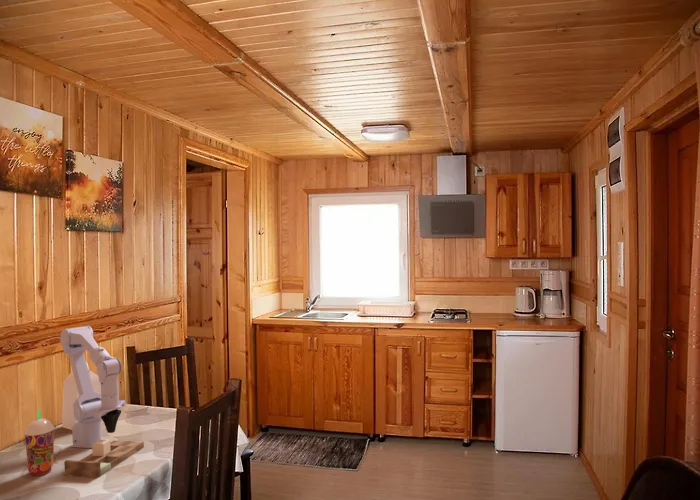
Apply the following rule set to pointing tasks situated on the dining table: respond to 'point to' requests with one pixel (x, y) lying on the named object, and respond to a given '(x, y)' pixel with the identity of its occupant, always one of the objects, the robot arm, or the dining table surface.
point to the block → (101, 447)
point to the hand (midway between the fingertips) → (111, 432)
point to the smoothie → (39, 446)
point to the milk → (75, 397)
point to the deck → (103, 459)
